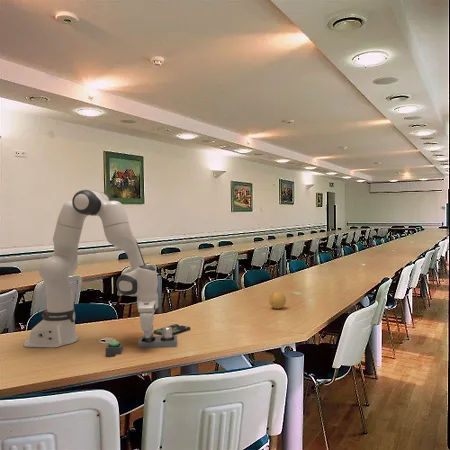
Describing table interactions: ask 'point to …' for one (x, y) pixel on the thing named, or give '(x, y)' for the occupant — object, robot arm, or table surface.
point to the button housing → (114, 350)
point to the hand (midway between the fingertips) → (148, 335)
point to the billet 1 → (150, 336)
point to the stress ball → (277, 300)
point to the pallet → (157, 342)
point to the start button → (114, 343)
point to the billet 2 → (167, 333)
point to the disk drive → (173, 330)
